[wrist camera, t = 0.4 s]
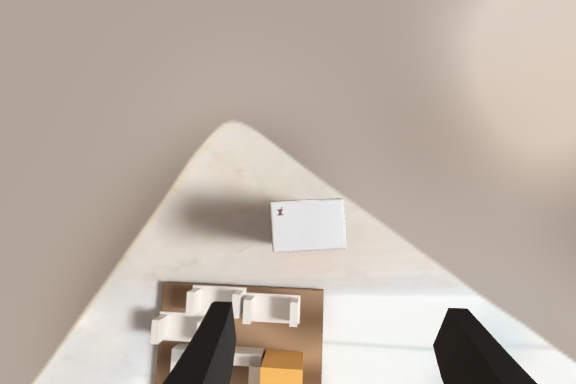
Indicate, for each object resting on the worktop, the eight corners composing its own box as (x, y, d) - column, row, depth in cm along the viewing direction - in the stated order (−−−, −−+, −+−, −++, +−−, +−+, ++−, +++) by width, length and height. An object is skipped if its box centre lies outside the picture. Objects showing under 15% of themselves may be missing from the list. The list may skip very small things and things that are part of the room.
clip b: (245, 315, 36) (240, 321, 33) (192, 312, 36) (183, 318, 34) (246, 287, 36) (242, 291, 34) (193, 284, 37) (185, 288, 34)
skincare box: (281, 246, 38) (270, 253, 26) (280, 209, 38) (267, 199, 26) (334, 243, 37) (347, 250, 25) (332, 206, 38) (343, 195, 26)
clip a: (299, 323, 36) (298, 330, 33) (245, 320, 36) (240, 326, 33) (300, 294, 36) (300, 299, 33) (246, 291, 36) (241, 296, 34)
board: (319, 442, 35) (319, 449, 34) (155, 430, 36) (151, 435, 35) (323, 289, 37) (323, 291, 36) (167, 281, 38) (163, 283, 37)
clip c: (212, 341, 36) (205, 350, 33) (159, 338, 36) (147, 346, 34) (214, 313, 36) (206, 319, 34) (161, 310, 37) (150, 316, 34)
